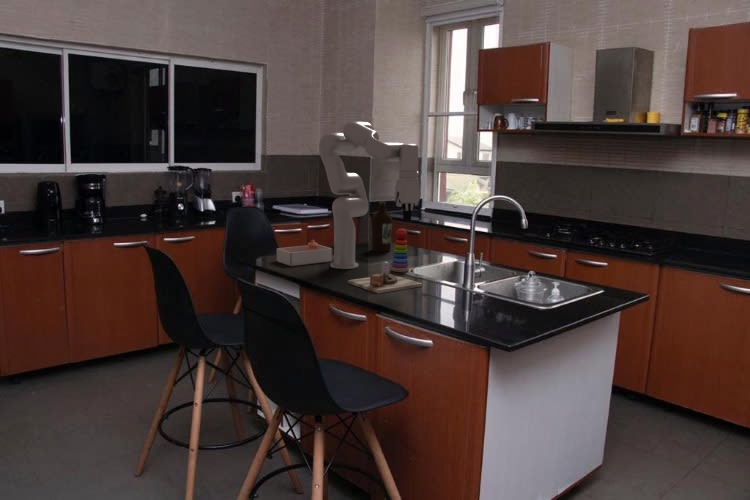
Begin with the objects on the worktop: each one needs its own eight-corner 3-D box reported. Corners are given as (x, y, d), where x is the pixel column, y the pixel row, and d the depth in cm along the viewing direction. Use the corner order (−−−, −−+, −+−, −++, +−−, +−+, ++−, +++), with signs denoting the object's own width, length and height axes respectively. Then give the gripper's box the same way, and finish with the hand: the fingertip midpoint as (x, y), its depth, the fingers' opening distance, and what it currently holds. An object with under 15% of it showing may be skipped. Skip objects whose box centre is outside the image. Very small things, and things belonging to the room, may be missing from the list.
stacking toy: (407, 273, 287) (408, 230, 283) (389, 272, 288) (390, 229, 285) (410, 269, 294) (411, 228, 291) (392, 268, 296) (393, 227, 293)
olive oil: (366, 250, 340) (367, 201, 335) (380, 248, 347) (382, 200, 343) (381, 253, 332) (382, 203, 328) (395, 250, 340) (397, 202, 335)
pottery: (290, 265, 298) (290, 244, 296) (280, 262, 305) (280, 241, 304) (324, 261, 308) (324, 241, 307) (313, 258, 316) (313, 238, 314)
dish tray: (276, 261, 307) (276, 248, 306) (317, 256, 320) (317, 244, 319) (290, 266, 296) (290, 252, 295) (332, 261, 310) (332, 248, 308)
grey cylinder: (366, 283, 260) (367, 263, 259) (385, 280, 266) (386, 261, 265) (371, 285, 258) (371, 265, 256) (390, 282, 264) (391, 262, 262)
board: (348, 283, 266) (348, 280, 265) (391, 276, 279) (391, 274, 278) (378, 293, 250) (378, 290, 250) (422, 286, 263) (422, 283, 263)
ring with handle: (379, 277, 270) (379, 268, 269) (400, 280, 266) (400, 270, 266) (364, 284, 257) (364, 274, 256) (386, 287, 253) (386, 277, 252)
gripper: (416, 173, 272) (415, 218, 276) (387, 174, 264) (386, 220, 267) (428, 175, 267) (426, 220, 270) (399, 176, 258) (398, 222, 261)
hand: (406, 220), depth 268 cm, fingers closed
